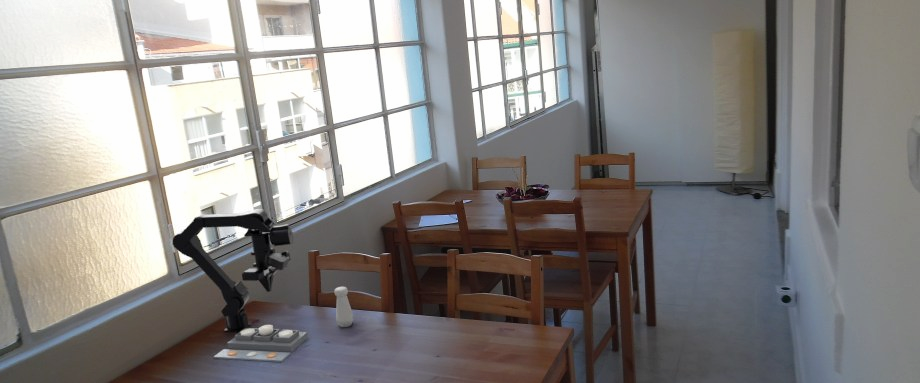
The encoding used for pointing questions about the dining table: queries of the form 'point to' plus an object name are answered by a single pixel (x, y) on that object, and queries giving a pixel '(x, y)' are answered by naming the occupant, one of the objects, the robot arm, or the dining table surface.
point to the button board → (268, 341)
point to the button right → (286, 333)
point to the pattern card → (252, 355)
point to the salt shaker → (343, 308)
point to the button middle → (266, 330)
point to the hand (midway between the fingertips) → (269, 291)
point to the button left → (247, 332)
